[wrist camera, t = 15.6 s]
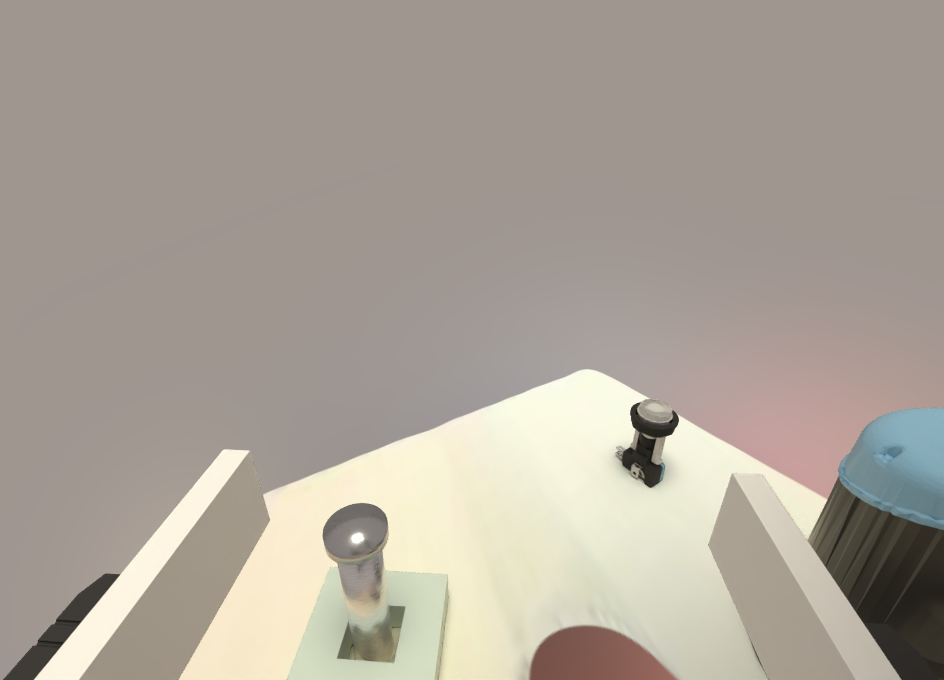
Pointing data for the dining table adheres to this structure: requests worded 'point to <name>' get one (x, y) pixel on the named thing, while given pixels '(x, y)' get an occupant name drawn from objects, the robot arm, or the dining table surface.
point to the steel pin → (363, 577)
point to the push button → (648, 440)
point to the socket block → (411, 607)
